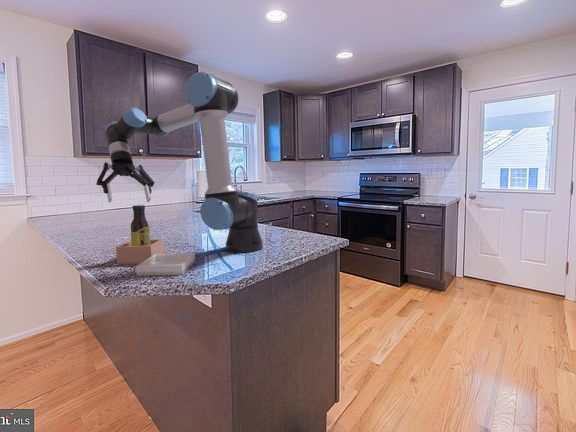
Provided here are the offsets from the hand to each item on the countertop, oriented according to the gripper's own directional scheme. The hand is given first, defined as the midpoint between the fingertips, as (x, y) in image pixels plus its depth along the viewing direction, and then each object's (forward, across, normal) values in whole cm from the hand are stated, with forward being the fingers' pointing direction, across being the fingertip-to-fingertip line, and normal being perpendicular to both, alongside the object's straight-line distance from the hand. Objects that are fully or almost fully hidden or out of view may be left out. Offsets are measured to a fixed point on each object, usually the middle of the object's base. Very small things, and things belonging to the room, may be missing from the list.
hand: (130, 200), depth 119 cm
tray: (+33, -4, +10) cm, 35 cm away
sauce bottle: (+22, -2, -6) cm, 23 cm away
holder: (+22, -2, -6) cm, 23 cm away
